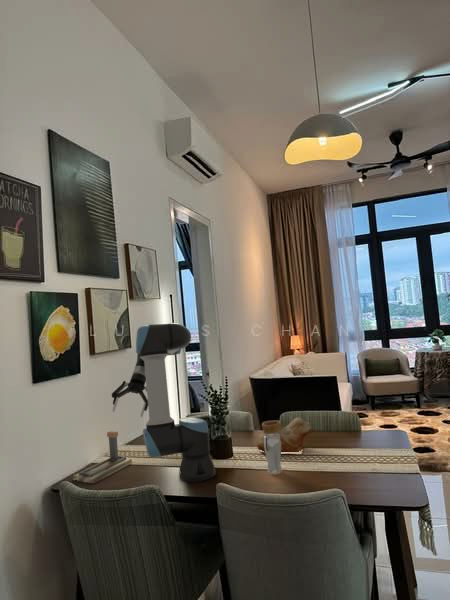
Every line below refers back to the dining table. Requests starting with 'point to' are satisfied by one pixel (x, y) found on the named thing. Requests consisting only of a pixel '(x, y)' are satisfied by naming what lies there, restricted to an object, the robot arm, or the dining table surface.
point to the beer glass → (273, 452)
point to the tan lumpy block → (286, 434)
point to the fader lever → (113, 446)
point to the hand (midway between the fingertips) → (127, 413)
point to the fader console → (102, 470)
